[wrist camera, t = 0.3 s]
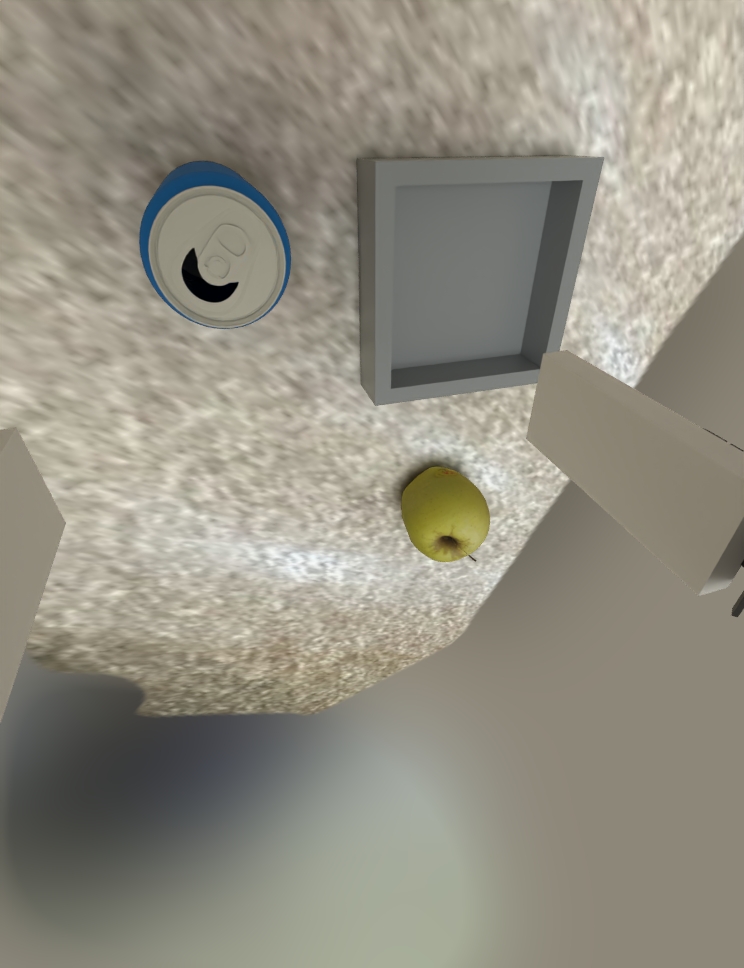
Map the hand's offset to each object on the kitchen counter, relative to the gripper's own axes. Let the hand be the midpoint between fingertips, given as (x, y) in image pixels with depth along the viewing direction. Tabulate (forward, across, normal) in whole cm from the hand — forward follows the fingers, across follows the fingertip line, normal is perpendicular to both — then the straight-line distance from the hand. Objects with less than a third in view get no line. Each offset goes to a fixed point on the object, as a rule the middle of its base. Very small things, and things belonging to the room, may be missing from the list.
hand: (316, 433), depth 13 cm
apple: (+24, +14, -22) cm, 36 cm away
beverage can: (+24, -2, +2) cm, 25 cm away
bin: (+24, +15, -3) cm, 29 cm away
